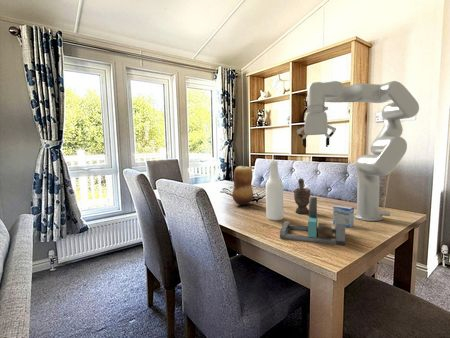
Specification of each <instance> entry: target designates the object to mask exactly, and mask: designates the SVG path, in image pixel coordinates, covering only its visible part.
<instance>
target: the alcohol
mask: <svg viewBox="0 0 450 338" xmlns="http://www.w3.org/2000/svg"><path fill="white" fill-rule="evenodd" d="M278 164H279V163H278V160H275V159H274V160H270V161H269V177H268V179H267V181H266V183H265V207H266V208H265V210H266V211H265V213H266V215H265V216H266V219H268V220H270V221H281V220H283V218H284V217H285V216H284V184H283V181H282V180H281V179H280V177H279V168H278V167H279V166H278Z"/></svg>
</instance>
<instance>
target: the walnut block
mask: <svg viewBox="0 0 450 338" xmlns="http://www.w3.org/2000/svg"><path fill="white" fill-rule="evenodd" d="M317 227H318V232H317V237H320V238H330V239H333V238H332V236H333V235H332V234H333V233H332V228H333V227H332V223H329V222H328V223H327V222H317Z"/></svg>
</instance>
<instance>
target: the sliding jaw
mask: <svg viewBox="0 0 450 338" xmlns="http://www.w3.org/2000/svg"><path fill="white" fill-rule="evenodd" d="M308 209H309V213H308V221H307V226H308V231H307V236H308V237H314V238H316V237H317V236H318V232H317V227H318V212H317V211H318V197H316V196H310V197H309V204H308Z"/></svg>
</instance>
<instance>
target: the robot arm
mask: <svg viewBox="0 0 450 338" xmlns="http://www.w3.org/2000/svg"><path fill="white" fill-rule="evenodd" d="M306 93H307V94H306V95H307V98H306V99H307V103H306V104H307V106H306V107H307V111H306V114H305V118H304V126H302V127H300V128H299V129H297V130H296V133H297V134H298V136H299V137H300V138H301V139H302V146H303V147H304V148H307V137H308V136H317V135H324V136H325V137H326V138H325V147H326V148H328V146H330V138H331V137H332V136H333V135H334V134H335V132H336V130H337V128H336V127H334V126H331V125H329V124H328V115H327V112H326V111H328V110H329V106H326V104H325V103H368V104H369V103H370V104H371V103H372V104H373V103H374V104H381V103H383V104H384V103H386V102H391V103H388V104H386V105H384V107H383V108H382V109H381V117H382V120H383V121H382V122H383V127H382V128H381V130H380V132H379V134H378V135H377V136H376V137H375V139H374V140H373V141H372V143H371V145H370V152H371V154H364V155H361V156H359V157H358V158H357V159H356V160H355V171H356V175H357V176H356V179H357V183H356V186H357V188H356V190H357V193H356V196H357V197H356V212H354V219H357V220H361V221H367V222H368V221H369V222H378V221H380V222H381V221H382V220H383V216H386V217H391V212H390V211H385V210H381V209H380V178H379V177H384V176H385V177H386V176H387V175H389V174H391V173H392V172H393V170H394V169H395V168H397V166H398V165H399V163H400V162H401V160H402V158H403V157H404V156H405V154H406V152H407V149H408V142H407V140H405V138H403V137H402V134H403V131H404V130H403V125H402V122H401V120H403V119H405V120H406V119H410V118H413V117H416V116H417V115H418V113H419V111H420V106H419V102H418V101H417V99H416V98H415V97H414V96H413V95H412V93H411V92H410V90H408V88H406V86H405V85H404V84H403V83H401V82H399V81H397V80H393V81H388V82H386V83H382V84H377V83H375V84H374V83H365V82H364V83H362V82H361V83H354V84H350V85H345V86H344V84H343V83H342V82H341V81H337V80H334V81H325V82H323V81H322V82H321V81H316V82H311V83H309V84H308V85H307V92H306ZM328 129H329V130H331V132H330V133H329V134H328ZM302 131H304V134H302Z"/></svg>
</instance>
